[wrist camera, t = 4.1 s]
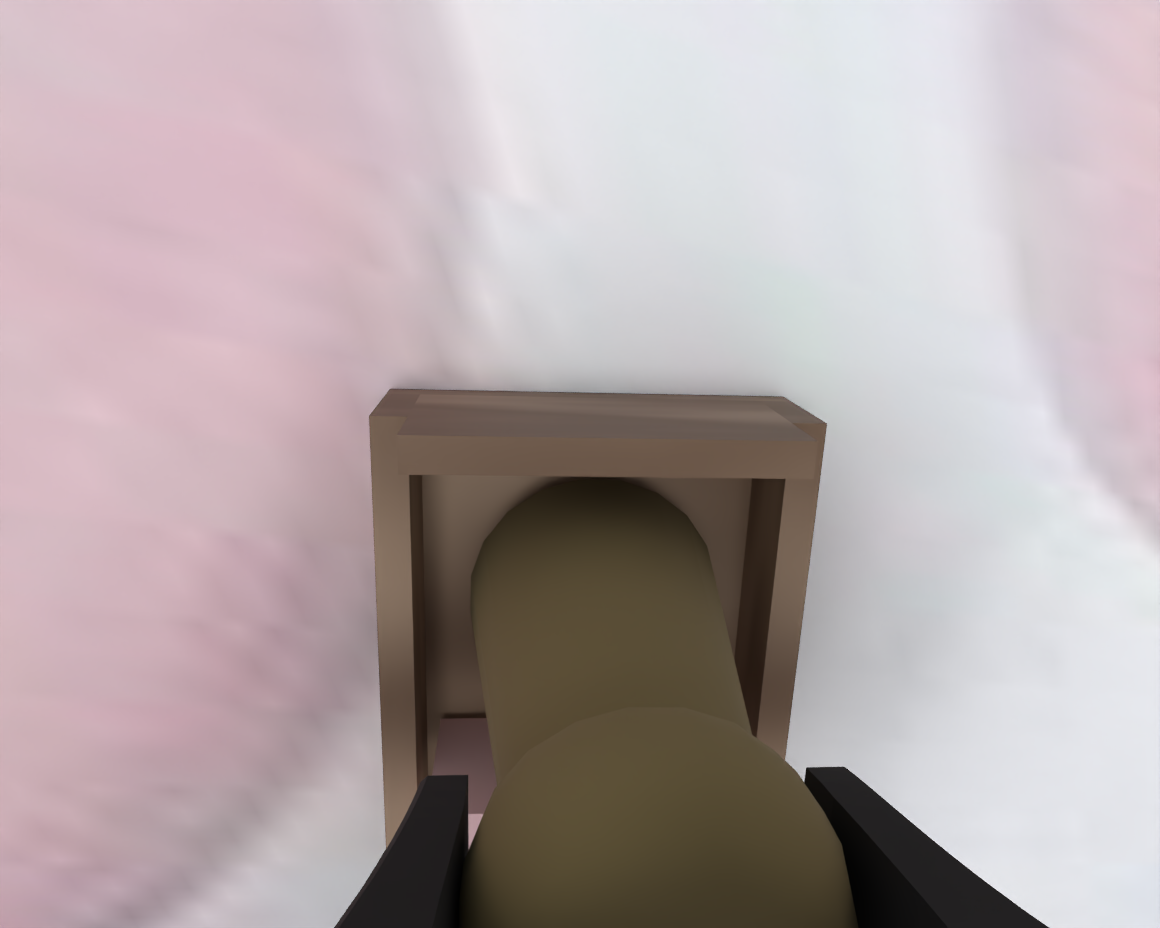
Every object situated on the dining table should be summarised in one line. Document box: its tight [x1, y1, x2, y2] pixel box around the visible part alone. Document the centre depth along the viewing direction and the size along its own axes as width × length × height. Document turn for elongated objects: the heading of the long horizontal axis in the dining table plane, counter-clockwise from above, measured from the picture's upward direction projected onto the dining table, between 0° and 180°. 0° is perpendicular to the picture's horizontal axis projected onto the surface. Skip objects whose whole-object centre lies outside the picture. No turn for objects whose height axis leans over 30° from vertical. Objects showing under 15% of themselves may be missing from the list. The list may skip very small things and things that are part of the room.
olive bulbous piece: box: [459, 479, 858, 928], centre depth 14 cm, size 6×6×11 cm
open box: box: [369, 389, 827, 849], centre depth 20 cm, size 15×10×5 cm, turn 178°
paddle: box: [432, 718, 497, 848], centre depth 20 cm, size 1×8×4 cm, turn 88°
